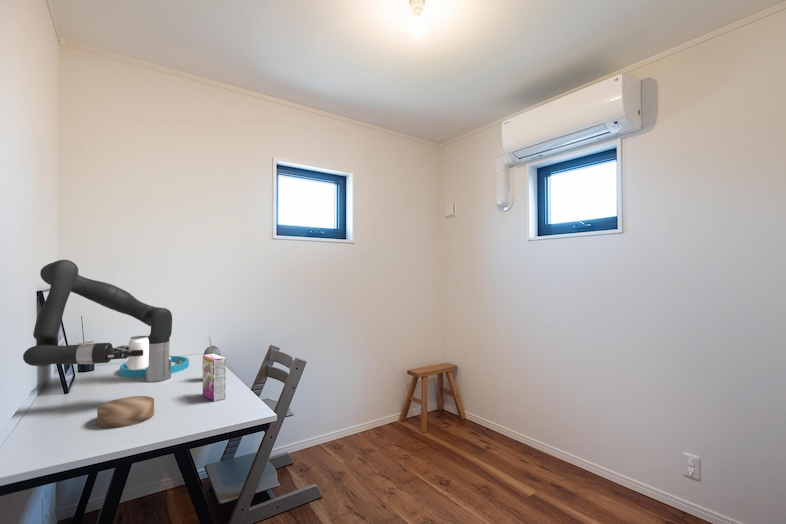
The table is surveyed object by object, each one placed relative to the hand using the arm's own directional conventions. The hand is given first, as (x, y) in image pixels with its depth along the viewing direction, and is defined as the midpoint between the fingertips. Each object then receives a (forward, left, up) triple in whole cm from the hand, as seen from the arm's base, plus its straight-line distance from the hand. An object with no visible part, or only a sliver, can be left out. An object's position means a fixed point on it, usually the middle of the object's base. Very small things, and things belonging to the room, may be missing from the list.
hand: (145, 350), depth 149 cm
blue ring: (-27, -48, -20) cm, 59 cm away
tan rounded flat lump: (+12, +13, -20) cm, 26 cm away
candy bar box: (-17, +18, -20) cm, 32 cm away
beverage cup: (-31, -5, -20) cm, 37 cm away
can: (+2, -1, -7) cm, 7 cm away
